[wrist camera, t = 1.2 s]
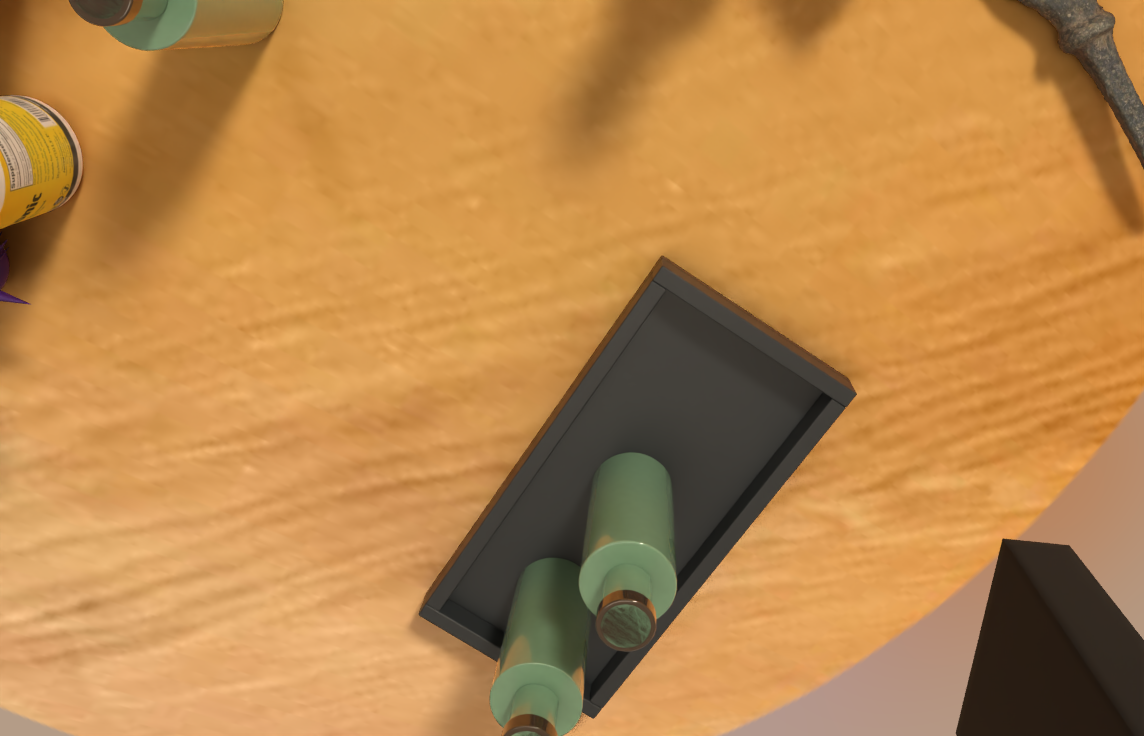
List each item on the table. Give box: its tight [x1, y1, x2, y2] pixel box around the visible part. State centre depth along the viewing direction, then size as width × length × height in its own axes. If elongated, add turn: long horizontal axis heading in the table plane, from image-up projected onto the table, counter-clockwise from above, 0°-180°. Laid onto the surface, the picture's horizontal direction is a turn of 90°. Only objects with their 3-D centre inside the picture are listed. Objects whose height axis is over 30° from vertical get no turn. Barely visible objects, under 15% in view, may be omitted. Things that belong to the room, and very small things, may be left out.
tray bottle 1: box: [490, 558, 592, 736], centre depth 47 cm, size 4×4×12 cm
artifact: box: [1018, 0, 1144, 169], centre depth 42 cm, size 15×2×5 cm
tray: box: [419, 256, 857, 719], centre depth 50 cm, size 22×11×2 cm, turn 147°
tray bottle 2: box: [579, 452, 677, 652], centre depth 45 cm, size 4×4×12 cm
